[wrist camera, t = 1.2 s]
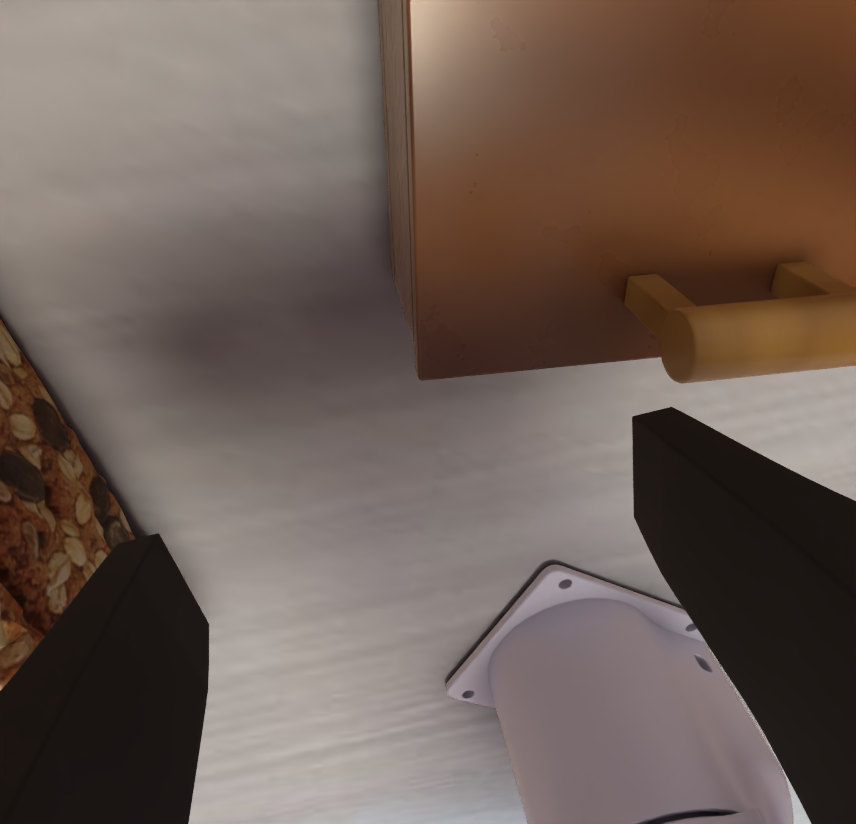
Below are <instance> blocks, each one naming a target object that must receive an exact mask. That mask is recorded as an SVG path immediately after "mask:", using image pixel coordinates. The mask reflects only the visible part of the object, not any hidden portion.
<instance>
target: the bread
mask: <svg viewBox="0 0 856 824" xmlns="http://www.w3.org/2000/svg"><path fill="white" fill-rule="evenodd" d="M134 539H136V538H135V537H134V536H133V534H132V531H131V529H130V527H129V525H128V522H127V520H126V518H125V516H124V514H123V511H122V509H121V508H120V506H119V504H118V502H117V501H116V499H115V497H114V496H113V494H112V493H111V492H110V491H108V490H107V483H106V481H105V479H104V478H103V477H102V476H101V475H100V474H98V473H97V472H96V471H95V469H94V467H93V465H92V463H91V461H90V459H89V457H88V456H87V454H86V453H85V452H84V450H83V449H82V447H81V445H80V443H79V441H78V438H77V436H76V434H75V432H74V431H73V430H72V429H70V428H69V427H67V425H66V423H65V421H64V420H63V418H62V416H61V414H60V413H59V411H58V409H57V407H56V406H55V404H54V402H53V401H52V399H51V397H50V396H49V394H48V392H47V391H46V389H45V387H44V386H43V384H42V383H41V381H40V379H39V378H38V376H37V374H36V373H35V371H34V369H33V368H32V366H31V365H30V364H29V362H28V361H27V359H26V358H25V356H24V355H23V353H22V352H21V350H20V349H19V348H18V346H17V345H16V343H15V342H14V340H13V339H12V337H11V336H10V334H9V332H8V331H7V329H6V327H5V326H4V324H3V322H2V321H1V319H0V691H1V690H2V689H3V687H4V686H5V685H6V684H7V683H8V681H9V680H10V679H11V678H12V677H13V676H14V674H15V673H16V672H17V671H18V670H19V668H20V667H21V666H22V665H23V663H24V662H25V661H26V659H27V658H28V657H29V656H30V654H31V653H32V652H33V651H34V649H35V648H36V647H37V645H38V644H39V643H40V642H41V640H42V639H43V638H44V637H45V635H46V634H47V633H48V631H49V630H50V629H51V628H52V626H53V625H54V624H55V622H56V621H57V620H58V619H59V617H60V616H61V615H62V614H63V612H64V611H65V610H66V608H67V607H68V606H69V604H70V603H71V602H72V601H73V599H74V598H75V597H76V595H77V594H78V593H79V591H80V590H81V589H82V587H83V586H84V585H85V584H86V582H87V581H88V580H89V578H90V577H91V576H92V575H93V573H94V572H95V571H96V569H97V568H98V567H99V566H100V564H101V563H102V562H103V561H104V559H105V558H106V557H107V556H108V554H109V553H110V552H111V551H112V550H113V548H114V547H115V546H116V545H117V544H118V543H122V542H126V541H130V540H134Z"/></svg>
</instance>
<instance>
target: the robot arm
mask: <svg viewBox="0 0 856 824" xmlns="http://www.w3.org/2000/svg"><path fill="white" fill-rule="evenodd" d="M632 428H633V488H634V518H635V520H636V522H637V525H638V527H639V529H640V531H641V533H642V535H643V537H644V539H645V541H646V544H647V546H648V548H649V550H650V552H651V554H652V556H653V558H654V560H655V562H656V564H657V566H658V568H659V570H660V572H661V574H662V575H663V577H664V578H665V580H666V582H667V583H668V585H669V586H670V588H671V589H672V591H673V592H674V594H675V596H676V597H677V599H678V600H679V602H680V603H681V605H682V606H683V608H684V609H685V610H684V609H681V608H678V607H675V606H672V605H670V604H667V603H664V602H661V601H659V600H656V599H653V598H650V597H647V596H645V595H642V594H639V593H636V592H633V591H631V590H628V589H625V588H622V587H619V586H617V585H614V584H611V583H608V582H605V581H603V580H600V579H597V578H594V577H591V576H589V575H586V574H583V573H580V572H578V571H575V570H572V569H569V568H566V567H564V566H561V565H550V566H548V567H546V568H545V569H544V570H543V571H542V572H541V573H540V574H539V575H538V576H537V578H536V579H535V580H534V581H533V582H532V583H531V585H530V586H529V587H528V588H527V589H526V591H525V592H524V593H523V594H522V595H521V596H520V598H519V599H518V600H517V601H516V602H515V603H514V605H513V606H512V607H511V608H510V609H509V610H508V612H507V613H506V614H505V615H504V616H503V618H502V619H501V620H500V621H499V622H498V623H497V625H496V626H495V627H494V628H493V629H492V630H491V632H490V633H489V634H488V635H487V636H486V638H485V639H484V640H483V641H482V642H481V643H480V645H479V646H478V647H477V648H476V649H475V650H474V652H473V653H472V654H471V655H470V656H469V657H468V659H467V660H466V661H465V662H464V663H463V665H462V666H461V667H460V668H459V669H458V670H457V672H456V673H455V674H454V675H453V676H452V677H451V679H450V680H449V681H448V682H447V684H446V692H447V695H448V696H449V697H451V698H453V699H457V700H461V701H466V702H470V703H474V704H478V705H482V706H487V707H491V708H495V709H497V713H498V717H499V720H500V724H501V728H502V731H503V735H504V739H505V742H506V746H507V750H508V753H509V757H510V761H511V764H512V768H513V772H514V775H515V779H516V783H517V786H518V790H519V794H520V797H521V801H522V805H523V808H524V812H525V816H526V819H527V823H528V824H793V808H792V801H791V796H790V792H789V788H788V784H787V781H786V778H785V776H784V773H783V771H782V769H781V767H780V765H779V763H778V761H777V759H776V758H775V756H774V754H773V753H772V751H771V749H770V748H769V746H768V745H767V743H766V741H765V740H764V738H763V736H762V735H761V733H760V732H759V730H758V728H757V727H756V725H755V723H754V722H753V720H752V719H751V717H750V715H749V714H748V712H747V710H746V709H745V707H744V706H743V704H742V702H741V701H740V699H739V697H738V696H737V694H736V693H735V691H734V689H733V688H732V686H731V684H730V683H729V681H728V680H727V678H726V676H725V675H724V673H723V671H722V670H721V668H720V667H719V665H718V663H717V662H716V660H715V658H714V657H713V655H712V654H711V652H710V650H709V649H708V647H707V645H706V644H708V646H709V647H710V649H711V650H712V652H713V653H714V655H715V656H716V658H717V659H718V661H719V663H720V664H721V666H722V667H723V669H724V670H725V672H726V673H727V675H728V676H729V678H730V679H731V681H732V682H733V684H734V685H735V687H736V688H737V690H738V691H739V693H740V694H741V696H742V697H743V699H744V700H745V702H746V704H747V705H748V707H749V709H750V710H751V712H752V714H753V715H754V717H755V719H756V720H757V722H758V724H759V725H760V727H761V729H762V730H763V732H764V734H765V736H766V738H767V739H768V741H769V743H770V745H771V747H772V749H773V751H774V753H775V754H776V756H777V758H778V760H779V762H780V764H781V766H782V768H783V770H784V771H785V773H786V775H787V777H788V779H789V781H790V783H791V785H792V786H793V788H794V790H795V792H796V794H797V796H798V798H799V800H800V802H801V804H802V806H803V808H804V810H805V811H806V813H807V815H808V817H809V819H810V821H811V823H812V824H856V501H854V500H852V499H850V498H848V497H845V496H843V495H841V494H839V493H837V492H834V491H832V490H830V489H828V488H826V487H824V486H822V485H820V484H818V483H816V482H814V481H812V480H810V479H807V478H805V477H803V476H801V475H799V474H797V473H795V472H794V471H792V470H790V469H788V468H786V467H784V466H782V465H780V464H778V463H776V462H774V461H772V460H770V459H768V458H766V457H764V456H763V455H761V454H759V453H757V452H755V451H753V450H751V449H749V448H748V447H746V446H744V445H742V444H740V443H738V442H736V441H735V440H733V439H731V438H729V437H727V436H725V435H724V434H722V433H720V432H718V431H716V430H714V429H713V428H711V427H709V426H707V425H705V424H703V423H701V422H700V421H698V420H696V419H694V418H692V417H690V416H688V415H686V414H685V413H683V412H681V411H679V410H677V409H675V408H673V407H669V408H665V409H661V410H657V411H653V412H649V413H645V414H641V415H637V416H633V417H632ZM565 579H566V580H565ZM563 580H565V581H563ZM208 671H209V623H208V622H207V620H206V618H205V616H204V614H203V613H202V611H201V609H200V607H199V605H198V604H197V602H196V600H195V598H194V596H193V594H192V593H191V591H190V589H189V587H188V585H187V584H186V582H185V580H184V578H183V576H182V575H181V573H180V571H179V569H178V567H177V566H176V564H175V562H174V560H173V558H172V556H171V555H170V553H169V551H168V549H167V547H166V546H165V544H164V542H163V540H162V538H161V537H160V535H159V533H158V534H154V535H150V536H146V537H142V538H138V539H134V540H130V541H126V542H122V543H118V544H117V545H116V546H115V547H114V548H113V550H112V551H111V552H110V553H109V554H108V556H107V557H106V558H105V559H104V561H103V562H102V563H101V564H100V566H99V567H98V568H97V569H96V571H95V572H94V573H93V575H92V576H91V577H90V578H89V580H88V581H87V582H86V584H85V585H84V586H83V587H82V589H81V590H80V591H79V593H78V594H77V595H76V597H75V598H74V599H73V601H72V602H71V603H70V604H69V606H68V607H67V608H66V610H65V611H64V612H63V614H62V615H61V616H60V617H59V619H58V620H57V621H56V622H55V624H54V625H53V626H52V628H51V629H50V630H49V631H48V633H47V634H46V635H45V637H44V638H43V639H42V640H41V642H40V643H39V644H38V645H37V647H36V648H35V649H34V651H33V652H32V653H31V654H30V656H29V657H28V658H27V659H26V661H25V662H24V663H23V665H22V666H21V667H20V668H19V670H18V671H17V672H16V673H15V674H14V676H13V677H12V678H11V679H10V680H9V681H8V683H7V684H6V685H5V686H4V687H3V689H2V690H1V691H0V824H188V822H189V815H190V809H191V802H192V795H193V789H194V782H195V776H196V769H197V762H198V756H199V749H200V743H201V736H202V729H203V722H204V715H205V708H206V700H207V693H208Z"/></svg>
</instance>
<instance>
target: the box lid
mask: <svg viewBox="0 0 856 824" xmlns="http://www.w3.org/2000/svg"><path fill="white" fill-rule="evenodd" d="M403 28H404V57H405V86H406V115H407V144H408V174H409V203H410V232H411V261H412V290H413V319H414V348H415V369H416V372H417V376H418V378H419V380H432V379H442V378H452V377H463V376H473V375H483V374H493V373H504V372H514V371H524V370H534V369H544V368H555V367H565V366H575V365H585V364H595V363H606V362H616V361H626V360H636V359H647V358H657V357H661V358H662V362H663V365H664V368H665V370H666V372H667V374H668V375H669V376H670V378H671V379H672V380H674V381H676V382H678V383H692V382H702V381H712V380H721V379H731V378H741V377H750V376H760V375H770V374H779V373H789V372H799V371H808V370H818V369H828V368H837V367H847V366H856V0H403Z"/></svg>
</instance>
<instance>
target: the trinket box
mask: <svg viewBox="0 0 856 824" xmlns="http://www.w3.org/2000/svg"><path fill="white" fill-rule="evenodd" d="M378 7H379V27H380V47H381V66H382V86H383V105H384V125H385V145H386V164H387V184H388V203H389V223H390V243H391V262H392V276H393V279H394V282H395V285H396V288H397V292H398V295H399V298H400V301H401V304H402V307H403V310H404V313H405V317H406V320H407V323H408V326H409V329H410V332H411V335H412V338H413V341H414V319H413V290H412V261H411V232H410V203H409V174H408V144H407V115H406V86H405V57H404V28H403V0H378Z"/></svg>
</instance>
